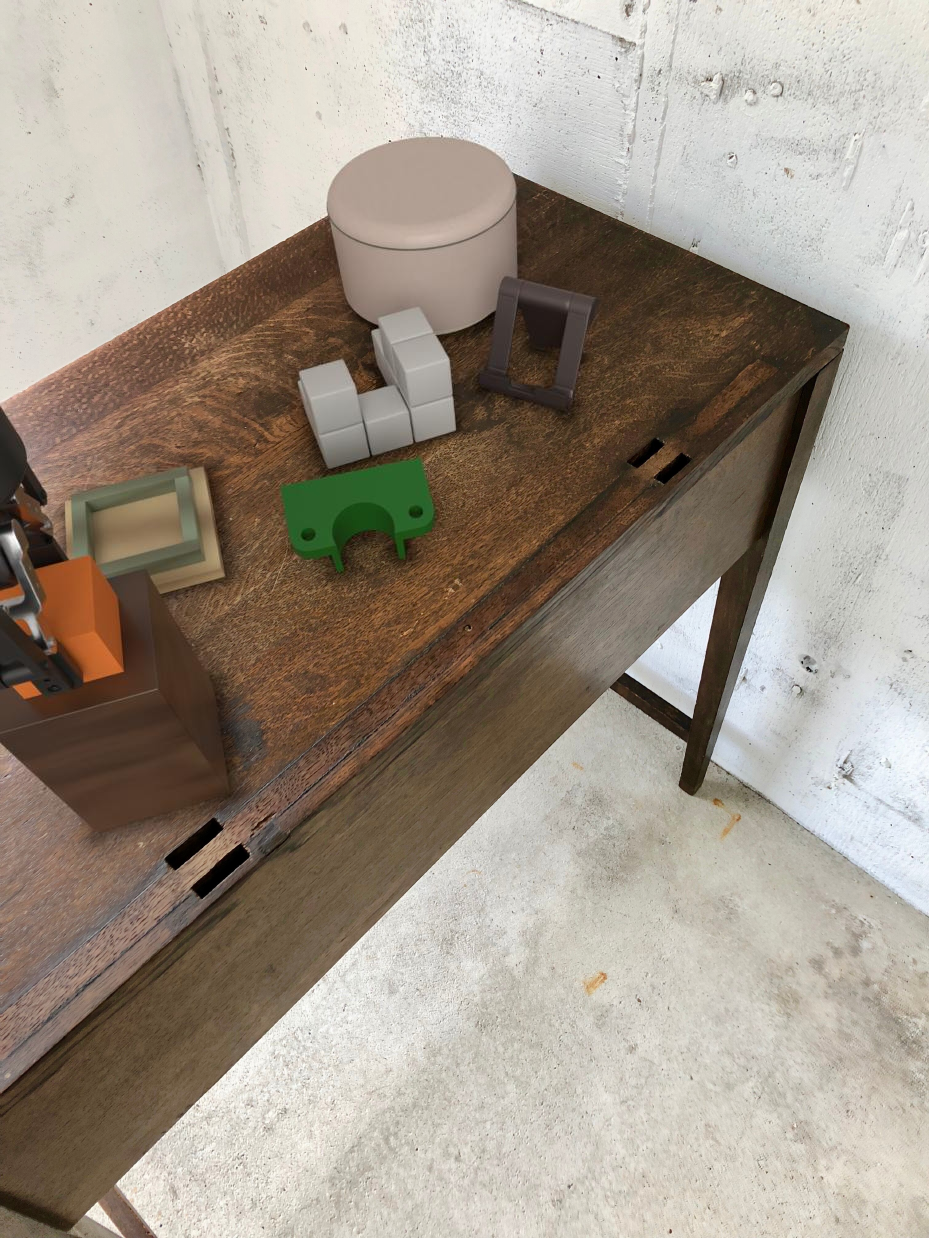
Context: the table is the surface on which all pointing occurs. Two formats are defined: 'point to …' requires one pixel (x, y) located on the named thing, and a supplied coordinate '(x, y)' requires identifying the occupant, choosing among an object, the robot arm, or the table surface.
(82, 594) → the orange square block
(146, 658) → the stand
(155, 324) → the table surface
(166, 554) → the square tray
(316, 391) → the gray cube puzzle piece
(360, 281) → the container
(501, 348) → the tablet stand
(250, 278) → the table surface
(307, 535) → the clamp
